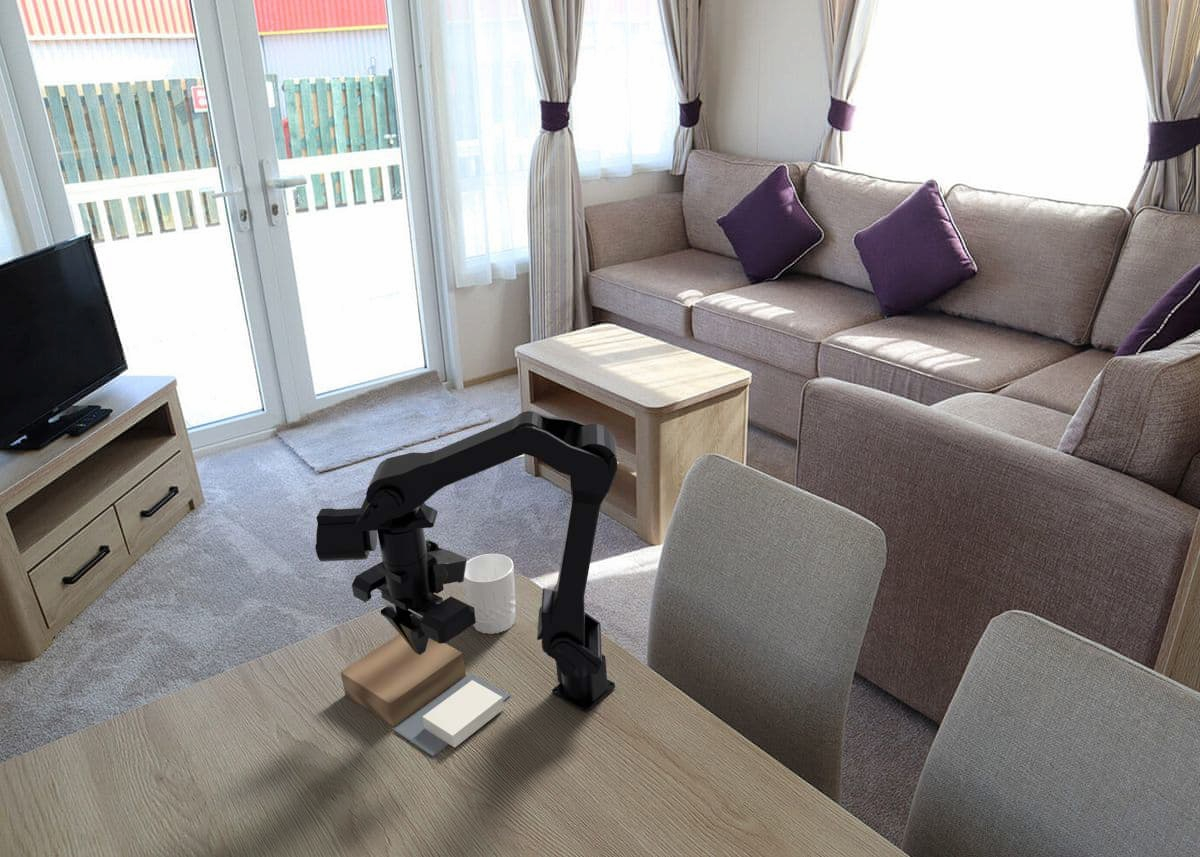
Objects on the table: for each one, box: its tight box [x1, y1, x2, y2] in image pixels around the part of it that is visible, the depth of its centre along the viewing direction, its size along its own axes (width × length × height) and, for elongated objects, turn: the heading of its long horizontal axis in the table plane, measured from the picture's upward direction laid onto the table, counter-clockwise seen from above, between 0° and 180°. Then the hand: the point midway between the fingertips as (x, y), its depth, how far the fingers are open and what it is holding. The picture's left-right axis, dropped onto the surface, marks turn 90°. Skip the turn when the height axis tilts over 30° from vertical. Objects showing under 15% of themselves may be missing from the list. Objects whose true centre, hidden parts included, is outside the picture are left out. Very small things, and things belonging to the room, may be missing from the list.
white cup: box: [462, 553, 517, 635], centre depth 142 cm, size 8×8×10 cm
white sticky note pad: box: [422, 680, 505, 748], centre depth 124 cm, size 6×9×2 cm, turn 140°
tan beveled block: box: [340, 634, 467, 728], centre depth 131 cm, size 11×13×4 cm
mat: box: [393, 672, 511, 757], centre depth 126 cm, size 8×14×1 cm, turn 140°
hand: (420, 652), depth 125 cm, fingers closed
